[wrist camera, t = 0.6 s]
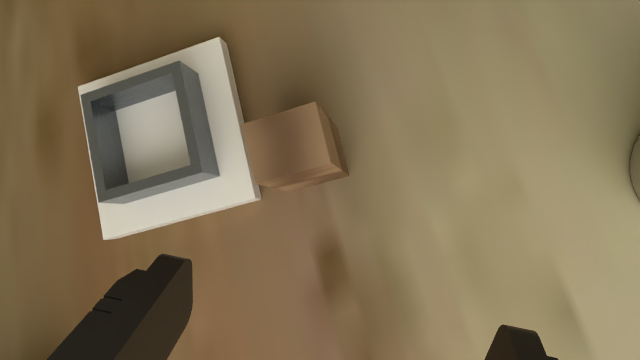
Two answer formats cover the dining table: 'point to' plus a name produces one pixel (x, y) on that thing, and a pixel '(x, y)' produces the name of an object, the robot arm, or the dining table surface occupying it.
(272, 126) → the walnut block
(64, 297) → the dining table surface
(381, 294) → the dining table surface
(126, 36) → the dining table surface
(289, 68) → the dining table surface
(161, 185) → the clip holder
